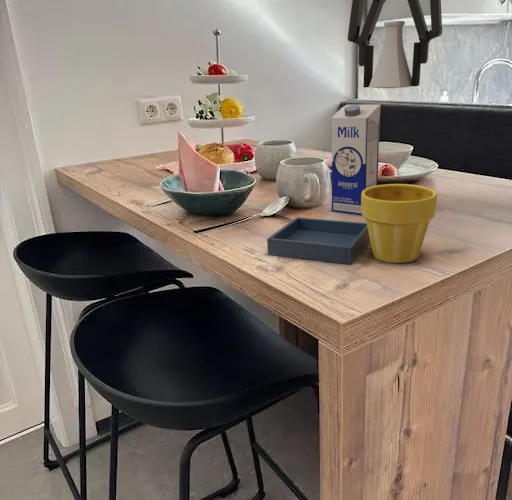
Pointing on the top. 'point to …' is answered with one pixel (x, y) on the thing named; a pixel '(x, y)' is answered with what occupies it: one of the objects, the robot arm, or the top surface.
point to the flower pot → (397, 219)
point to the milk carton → (354, 155)
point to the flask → (392, 60)
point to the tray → (320, 240)
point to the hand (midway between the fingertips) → (391, 86)
